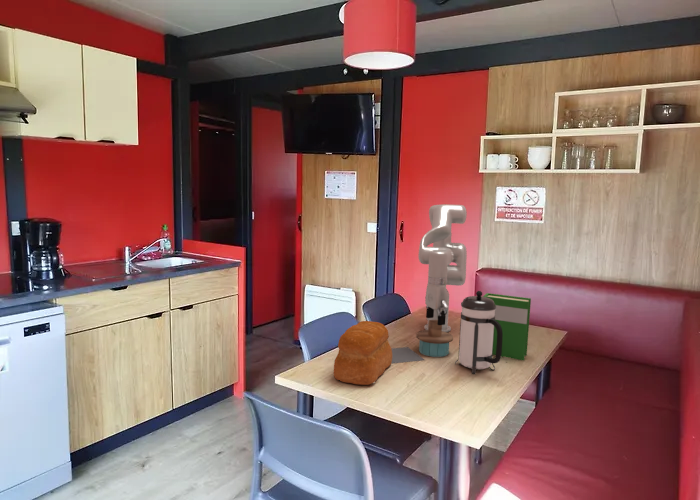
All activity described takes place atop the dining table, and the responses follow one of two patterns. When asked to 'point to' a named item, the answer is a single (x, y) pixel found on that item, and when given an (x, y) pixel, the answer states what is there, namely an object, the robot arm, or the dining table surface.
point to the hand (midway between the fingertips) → (435, 321)
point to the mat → (404, 355)
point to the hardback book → (512, 324)
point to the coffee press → (478, 333)
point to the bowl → (433, 349)
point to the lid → (434, 334)
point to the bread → (363, 353)
